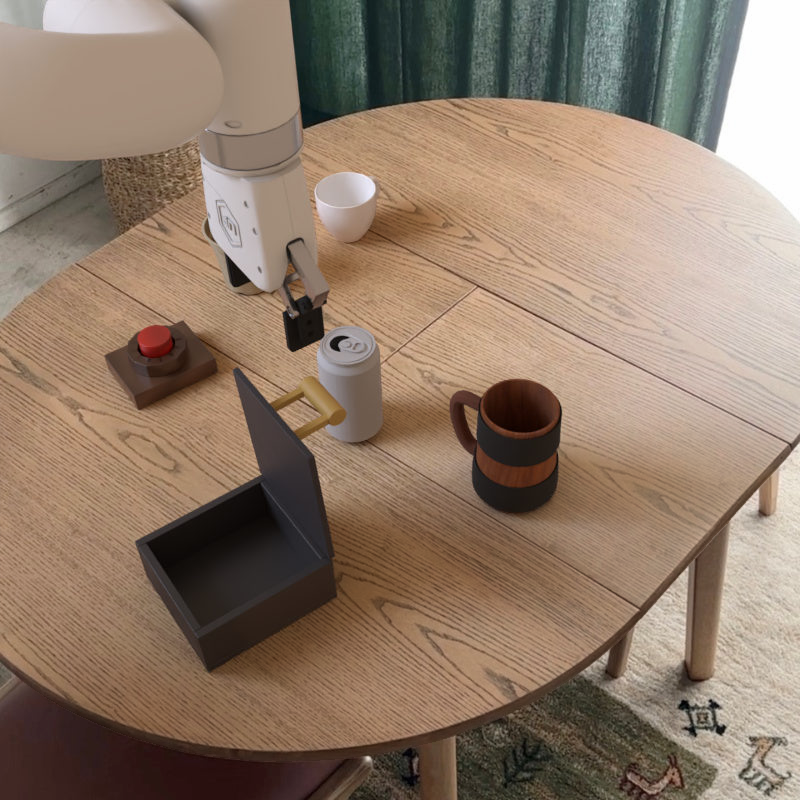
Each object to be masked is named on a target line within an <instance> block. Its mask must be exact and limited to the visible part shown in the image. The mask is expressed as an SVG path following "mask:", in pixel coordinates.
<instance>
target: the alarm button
mask: <svg viewBox="0 0 800 800" xmlns="http://www.w3.org/2000/svg"><path fill="white" fill-rule="evenodd" d="M141 330H142V331H141ZM141 330H140V331H141V332H140V333H139V334H138V343H139V346H140V350H141V353H142V354H143V355H144V356H146V357H149V358H159V357H163V356H165V355H167V354H168V353H169V352H170V351H171V350H172V348H173V342H172V338H171V334H170V331H169V329H168V328H166V327H165V326H162V325H161V324H153V325H149V326H145V328H143V329H141Z"/></svg>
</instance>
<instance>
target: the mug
mask: <svg viewBox="0 0 800 800" xmlns="http://www.w3.org/2000/svg"><path fill="white" fill-rule="evenodd" d="M448 405H449V407H448V408H449V416H450V422H451V425H452V429H453V431H454V434H455V437H456V438H457V440H458V442H459V444H460V445H461V446H462V448H463V449H464V450H465V451H466V452H467V453H468V454H469V455H471V456H473V458H472V461H471V483H472V487H473V489H474V491H475V493H476V495H477V496H478V497H479V498H480V499H481V500H482V501H483V503H485V504H487V505H488V507H490V508H492V509H494V510H496V511H498V512H501V513H504V514H510V515H522V514H528V513H530V512H533V511H535V510H538V509H540V508H541V507H543V506H544V505H546V504H547V503H548V502H550V500H551V499H552V498H553V496H554V495H555V493H556V491H557V487H558V481H559V466H560V465H559V463H560V460H559V459H560V457H559V451H558V449H559V447H560V444H561V431H562V419H563V408H562V404H561V402H560V400H559V398H558V397H557V396H556V395H555V394H554V392H553V391H552V390H551V389H549V388H548V387H546V386H545V385H543V384H541V383H539V382H537V381H535V380H531V379H526V378H509V379H504V380H501V381H499V382H496V383H494V384H492V385H491V386H490V387H488V388H487V389H486V390H485V392H484V393H483V394H482V396H480V395H477V394H476V393H474V392H472V391H470V390H466V389H465V390H464V389H461V390H457V391H456V392H453V394H452V395H451V397H450V399H449V404H448ZM465 406H466V407H468V408H470V409H473V410H474V411H476V412H477V417H476V432H475V434H476V438H475V436H474V435H473V433H472V430H471V428H470V426H469V423H468V420H467V415H466V412H465Z"/></svg>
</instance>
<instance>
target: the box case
mask: <svg viewBox="0 0 800 800" xmlns="http://www.w3.org/2000/svg"><path fill="white" fill-rule="evenodd" d="M134 544H135V547H136V549H137V552H138V555H139V558H140V561H141V564H142V566H143V569H144V572H145V575H146V578H147V580H148V581H149V582H150V584H151V585H152V587H153V588H154V591H155V592H156V593H157V595H158V597H159V598H160V600H161V601H162V602H163V604H164V606H165V607H166V609H167V610H168V612H169V613H170V615H171V616H172V619H174V621H175V623H176V625H177V626H178V628H179V629H180V631H181V633H182V634H183V635H184V637H185V639H186V640H187V642H188V643H189V644H190V646H191V648H192V649H193V651H194V652H195V654H196V656H197V657H198V659H199V660H200V662H201V664H202V665H203V667H204V668H205V670H206V671H207V673H211V672H213V671H215V670H216V669H217V668H219V667H221V666H223V665H224V664H226V663H228V662H229V661H231V660H233V659H234V658H236V657H238V656H240V655H241V654H243V653H245V652H246V651H248V650H250V649H251V648H253V647H255V646H256V645H258V644H260V643H261V642H263V641H265V640H266V639H269V638H270V637H272V636H273V635H275V634H276V633H279V632H280V631H282V630H283V629H285V628H287V627H288V626H290V625H292V624H294V623H296V622H297V621H298V620H300V619H302V618H304V617H305V616H307V615H309V614H310V613H312V612H314V611H315V610H317V609H319V608H320V607H323V606H324V605H325V604H327V603H329V602H330V601H331V602H332V600H334V599H335V598H337V597H338V593H337V584H336V575H335V568H334V567H335V566H334V561H333V558H332V559H331V560H330V559H329V558H328V557H327V556H326V554H325V553H324V552H323V551H322V549H321V548H320V547H319V546H318V544H317V543H316V542H315V541H314V539H313V538H312V537H311V536H310V534H309V533H308V532H307V531H306V529H305V528H304V527H303V526H302V524H301V523H300V522H299V521H298V519H297V518H296V517H295V516H294V514H293V513H292V512H291V511H290V509H289V508H288V507H287V506H286V504H285V503H284V502H283V501H282V499H281V498H280V497H279V496H278V494H277V493H276V492H275V490H274V489H273V488H272V487H271V485H270V484H269V483H268V482H267V480H266V479H265V478H264V477H263V475H262V474H260V475H258V476H256V477H254V478H253V479H250V480H248V481H246V482H245V483H243V484H240V485H239V486H237V487H235V488H233V489H231V490H229V491H227V492H225V493H224V494H222V495H220V496H218V497H216V498H214V499H212V500H209V502H207V503H204V504H203V505H201V506H199V507H197V508H195V509H193V510H192V511H190V512H189V511H188V512H187V513H186V514H184V515H182V516H180V517H178V518H176V519H174V520H173V521H170V522H168V523H167V524H164V525H163V526H161V527H159V528H157V529H155V530H153V531H151V532H149V533H148V534H146V535H144V536H142V537H140V538H138V539H136V540H134Z"/></svg>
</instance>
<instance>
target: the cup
mask: <svg viewBox="0 0 800 800" xmlns="http://www.w3.org/2000/svg"><path fill="white" fill-rule="evenodd" d="M380 190H381V186H380V181H379V178H377V177H376V176H373V175H369V176H367V175H365V174H363V173H359V172H353V171H342V172H336V173H332V174H329V175H327V176H325V177H324V178H322V179H321V180H319V181H318V183H317V184H316V185H315V188H314V201H315V206H316V207H315V208H316V212H317V214H318V218H319V220H320V222H321V224H322V226H323V227H324V229H325V230H326V232H328V233H329V234H330V235H331V236H332V238H334V239H336V240H337V241H339V242H341V243H355V242H357V241H359V240H361V239H362V238H363V237H364V236H365V235H366V233H368V231H369V230H370V227H371V226H372V225H373V222H374V219H375V216H376V212H377V206H378V205H377V203H378V201H377V200H378V199H379V195H380Z"/></svg>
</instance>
